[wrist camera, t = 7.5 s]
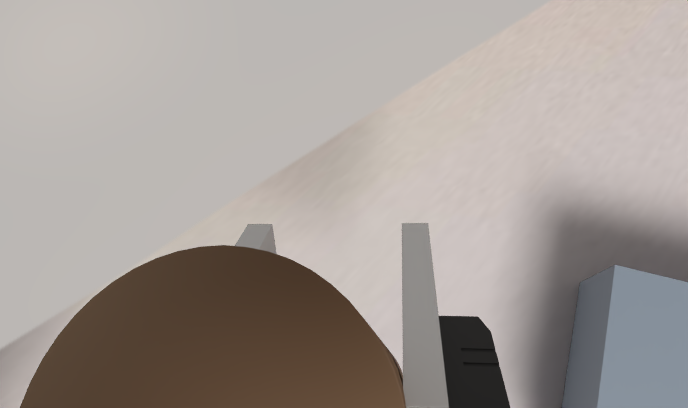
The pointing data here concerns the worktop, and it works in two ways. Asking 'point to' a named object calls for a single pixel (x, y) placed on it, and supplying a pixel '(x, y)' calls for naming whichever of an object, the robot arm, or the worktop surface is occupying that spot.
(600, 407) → the bore block
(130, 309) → the walnut peg
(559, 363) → the worktop surface
